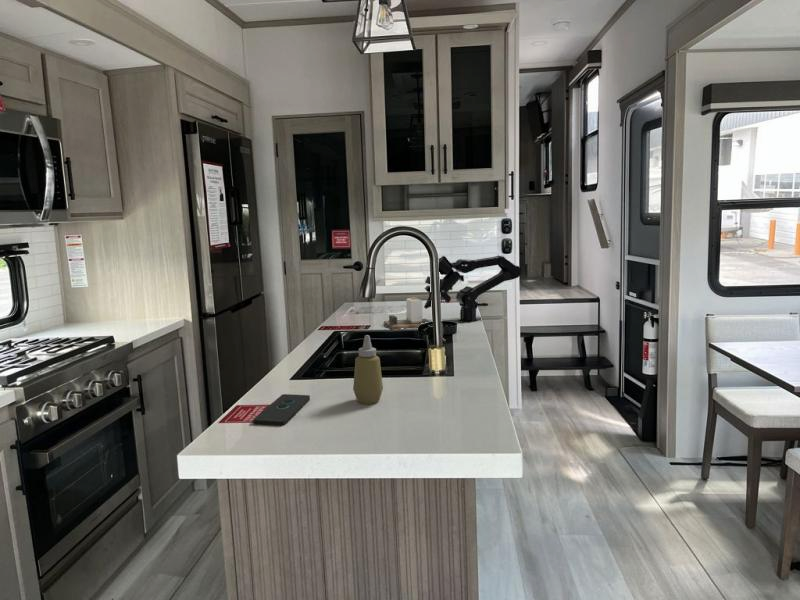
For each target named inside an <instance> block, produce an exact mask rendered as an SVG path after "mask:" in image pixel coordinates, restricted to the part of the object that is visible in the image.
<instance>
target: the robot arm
mask: <svg viewBox="0 0 800 600" xmlns="http://www.w3.org/2000/svg"><path fill="white" fill-rule="evenodd" d="M438 259H439V272H440V273H439V272H438V273H439V274H440V275H441V276H443V275H444V276H443V278H439V279H440V292H441V303H443V300H444V302H445V303H446V304H449V303H450V302H451V300H452V297H451V296H450V294H448V293H449V292H450V291H452V290H453V287H454V286H455V285H456V283H458V281H460V282H465V277H464V276H465V275H464V274H468V273H470V272H473V271H475V270H477V269H481V268H482V269H483V268H486V267H487V268H488V267H494V266H498V267H499V269H500V271H499V272H498V273H497V274H495V275H494V276H490V278H488V279H486V280H484V281H482V282H481V283H479V284H477V285H475V286H474V287H471V286H468V285H466V286H465V287H463V288H462V289H459V290H458V292H456V297H455V299H456V301H457V302H458V303H459V306H460V312H459V317H460V318H459V319H458V321H460V322H468V323H473V322H476V321H478V320H479V318H477V309H478V307H479V303H478V302H477V299H478V298H479V296H481V295H483V294H484V293H486V292H488V291H490V290H491V289H493V288H495V287H497V286H499V285H501V284H502V283H504V282H507V281H508V282H509V281H512V280H516V279H518V278H519V277H520V276H521V274H522V269H521V267H520V266H519V265H515V263H512V262H511V261H510V260H509V259H507V258H506V257H505V256H503V255H496V256H490V257H483V258H476V259H463V258H462V259H461V258H460V259H457V260H456V261H455V262H450V261H449V259H448V258H447V257H446V256H445V255H441V257H439V258H438ZM460 273H461V274H460ZM430 277H431V276H430V275H429V276H428V275H427V277H426V279H425V281H424V283H425V284H428V285H426V287H424V290H425V291H426V292H427V293H428V298H427V300H426V302H425V304H424V306H423V308H424V309H427V310H428V309H429V308H431V307H432V306H431V292H430V286H431V285H430Z"/></svg>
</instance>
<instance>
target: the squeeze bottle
mask: <svg viewBox="0 0 800 600" xmlns="http://www.w3.org/2000/svg"><path fill="white" fill-rule="evenodd" d="M354 362H355V363H354V373H353V387H352V390H353V393H354V396H355V398H356V399H355V400H356V401H357V402H358V404H363V405H372V404H376V403H378V402H380V399H381V396H382V392H383V390H384V385H383V384H384V383H383V377H382V368H381V359H380V357H379V356H378V355H377V348H375V347H373V345H372V342H371V336H370V335H368V334H366V335H364V339H363V345H362V347H360V348H358V356H356V357H355V361H354Z"/></svg>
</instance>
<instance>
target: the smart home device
mask: <svg viewBox="0 0 800 600" xmlns="http://www.w3.org/2000/svg"><path fill="white" fill-rule="evenodd" d="M310 400H311V396H310V395H309V394H307V395H306V394H291V393H289V394H288V393H287V394H286V393H283V394H281V395H280V396H278V398H277V399H275V400H274V401H272V402H271V403H270V404H269V405H268V406H267V407H266V408H265V409H264V410H262V411H261V412H260V413H258V415H256V416H255V417H254V418H253V425H255V426H256V425H258V426H276V427H284V426H286V425H287V424H288V423H289V422H290V421H291V420H292V419H293V418H295V416H296V415H297V414H298V413H299V412H300V411H301V410H302V409H303V408H304V407H305V406H306V405H307V404H308V403H309V402H310Z"/></svg>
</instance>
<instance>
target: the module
mask: <svg viewBox="0 0 800 600" xmlns="http://www.w3.org/2000/svg"><path fill="white" fill-rule="evenodd" d="M405 300H406V302H405V303H406V306H405V307H406V318H405V320H410V321H411V323H423V321H422V319H423V299H420V298H418V297H415V296H410V297H409V298H406V299H405Z"/></svg>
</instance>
